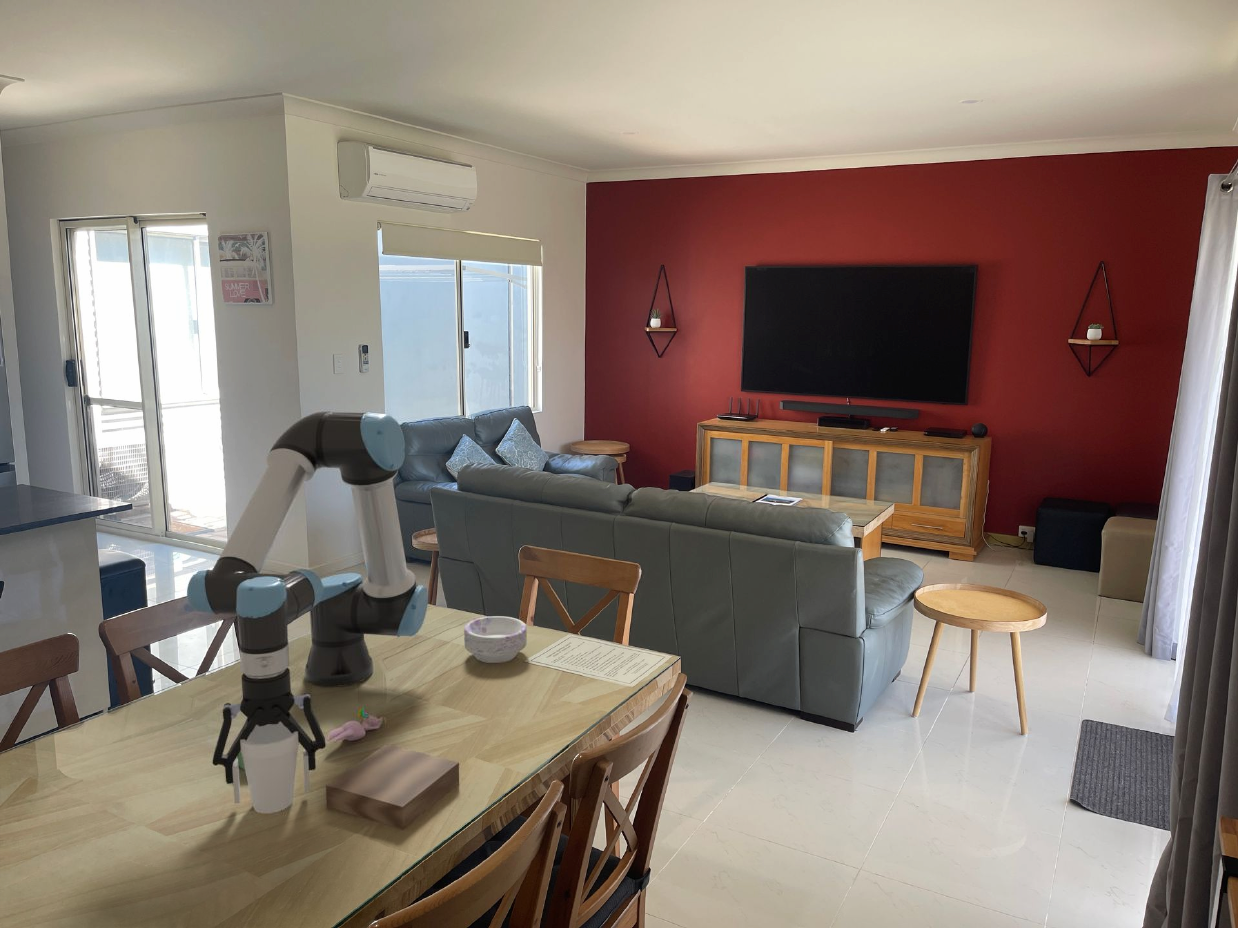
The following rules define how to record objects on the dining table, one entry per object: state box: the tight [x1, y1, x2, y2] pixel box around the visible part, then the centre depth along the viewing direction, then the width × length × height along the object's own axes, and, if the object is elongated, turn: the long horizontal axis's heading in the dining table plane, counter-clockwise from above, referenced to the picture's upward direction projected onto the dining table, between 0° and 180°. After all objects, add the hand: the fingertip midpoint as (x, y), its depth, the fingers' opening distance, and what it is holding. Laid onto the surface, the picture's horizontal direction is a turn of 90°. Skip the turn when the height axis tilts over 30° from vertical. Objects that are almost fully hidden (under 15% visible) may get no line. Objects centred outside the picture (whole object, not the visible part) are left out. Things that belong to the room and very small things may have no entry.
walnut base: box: [325, 744, 460, 830], centre depth 154 cm, size 16×16×4 cm
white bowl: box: [463, 615, 528, 664], centre depth 216 cm, size 15×15×8 cm
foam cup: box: [240, 722, 300, 814], centre depth 150 cm, size 10×9×13 cm
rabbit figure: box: [326, 707, 387, 743], centre depth 174 cm, size 6×6×15 cm
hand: (272, 792), depth 151 cm, fingers open, 10 cm apart
